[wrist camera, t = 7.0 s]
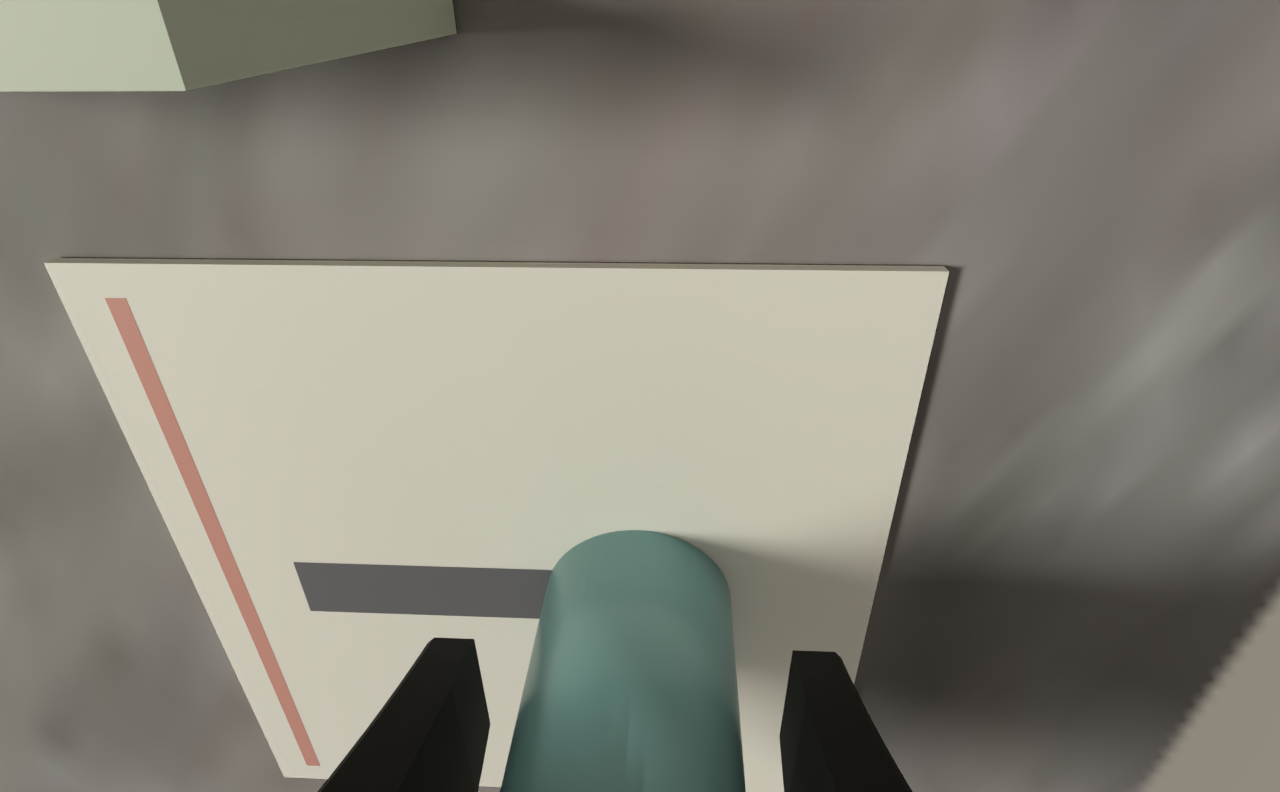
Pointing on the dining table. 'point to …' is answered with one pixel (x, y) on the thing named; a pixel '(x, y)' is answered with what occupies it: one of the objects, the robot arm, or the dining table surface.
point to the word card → (196, 39)
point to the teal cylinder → (631, 674)
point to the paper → (504, 457)
